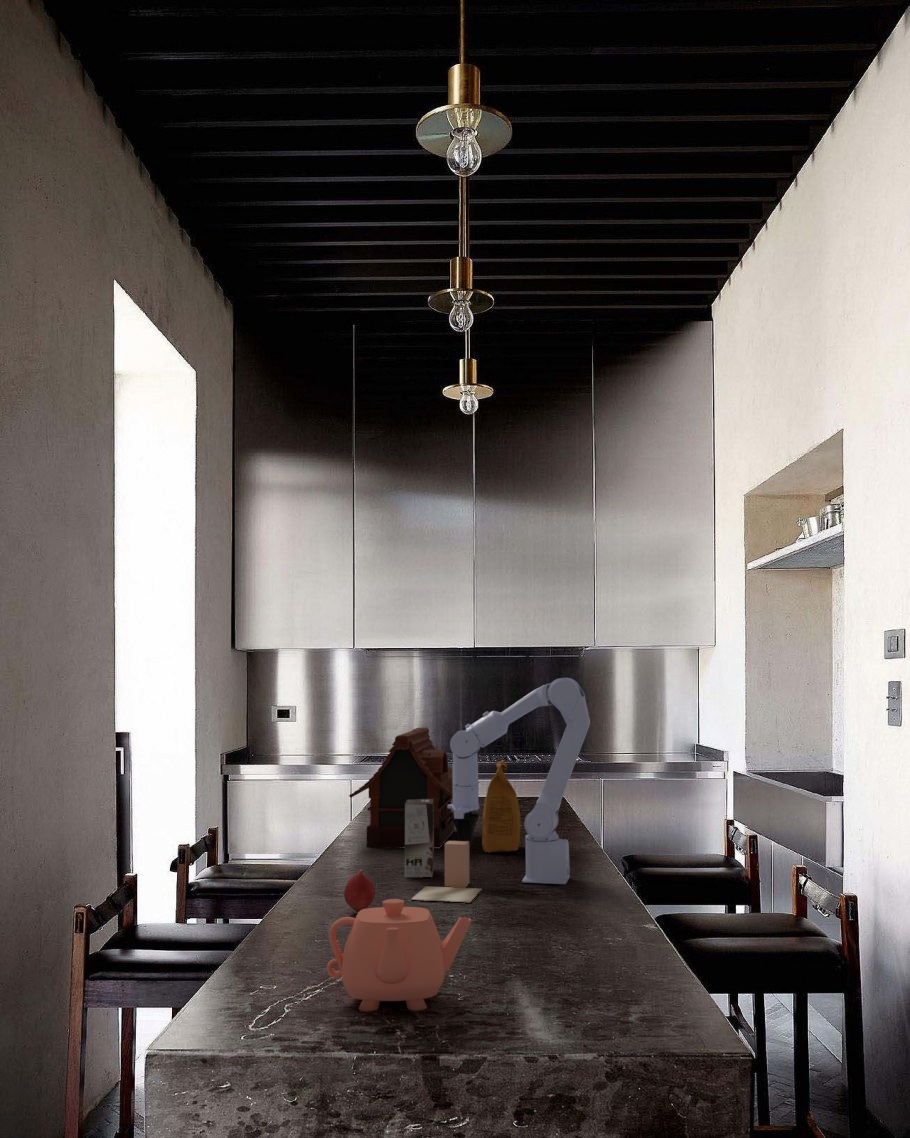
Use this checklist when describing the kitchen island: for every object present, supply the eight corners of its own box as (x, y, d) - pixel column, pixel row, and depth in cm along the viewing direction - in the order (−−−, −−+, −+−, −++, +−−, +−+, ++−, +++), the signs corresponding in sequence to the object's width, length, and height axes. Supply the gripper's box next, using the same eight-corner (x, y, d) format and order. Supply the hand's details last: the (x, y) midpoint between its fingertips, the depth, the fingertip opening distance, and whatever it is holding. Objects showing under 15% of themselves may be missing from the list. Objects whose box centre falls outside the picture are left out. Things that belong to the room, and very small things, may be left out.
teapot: (476, 997, 142) (475, 898, 143) (393, 1031, 129) (393, 922, 130) (392, 975, 152) (391, 883, 153) (307, 1005, 139) (308, 904, 140)
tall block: (469, 884, 216) (469, 841, 217) (465, 888, 212) (465, 844, 213) (448, 883, 217) (448, 840, 218) (444, 887, 213) (444, 843, 214)
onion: (338, 914, 190) (338, 871, 191) (355, 908, 195) (355, 865, 196) (364, 918, 187) (364, 873, 188) (380, 911, 192) (380, 868, 193)
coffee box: (433, 878, 223) (432, 803, 225) (403, 878, 223) (403, 803, 225) (434, 869, 232) (434, 798, 234) (406, 869, 232) (406, 798, 234)
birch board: (481, 890, 210) (481, 888, 210) (470, 903, 198) (470, 901, 198) (425, 888, 213) (425, 886, 213) (411, 901, 201) (411, 898, 201)
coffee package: (522, 846, 263) (521, 760, 265) (520, 854, 250) (519, 764, 253) (484, 845, 264) (483, 759, 266) (479, 854, 251) (479, 764, 254)
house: (456, 851, 257) (456, 735, 259) (347, 849, 260) (347, 734, 263) (471, 829, 291) (471, 727, 294) (374, 827, 295) (375, 727, 298)
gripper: (454, 781, 233) (455, 841, 232) (440, 788, 219) (440, 852, 218) (485, 781, 232) (485, 842, 231) (472, 789, 218) (472, 853, 217)
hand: (465, 847), depth 224 cm, fingers closed
